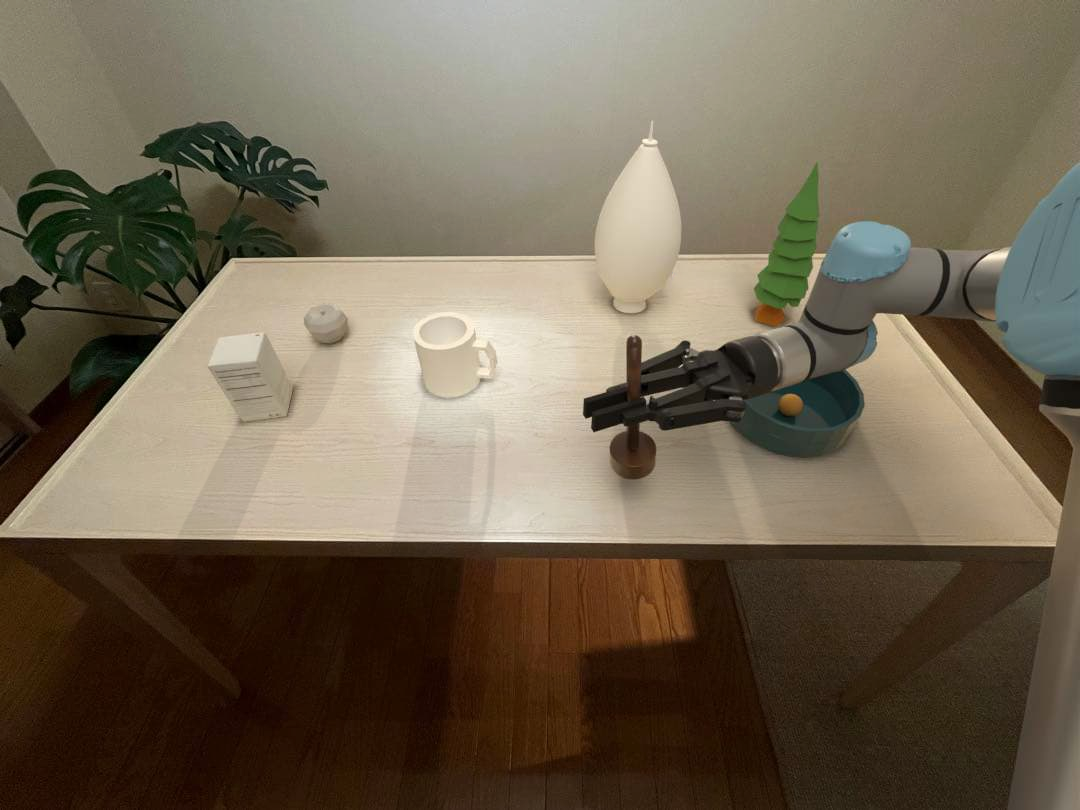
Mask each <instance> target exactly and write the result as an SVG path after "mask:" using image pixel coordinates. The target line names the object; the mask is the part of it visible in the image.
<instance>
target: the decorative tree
mask: <svg viewBox="0 0 1080 810" xmlns="http://www.w3.org/2000/svg"><path fill="white" fill-rule="evenodd" d="M819 177H820V176H819V165H818V161H816V162H815V164H814V166H813V168H812V170H811V172H810V174H809V176H808V177H807V178H806V180H805V182H804V184H803V185H802V187H801V188H800V190H799V192H798V193H797V194H796V196H795V197H793V199H792V200H791V201H790V203H789V204H788V205H787V206H786V207H785V209H784V210H785V211H786V213H785V214H784V216H783V217H782V219H781V221H780V222H779V224H778V226H777V230H778V235H777V236H776V238H775V240H774V241H773V242H772V246H773V249H772V250H771V252H770V253H769V254H768V261H767V263H768V264H767V265H766V266H765V267H764V268H763V269H761V270H760V271H759V273H757V274H756V276H757V278H758V282H757V283H756V285H754V287H753V291H754V294H755V298H756V300H757V301H758V302H761V304H760V305H759V306H758V307H757V308H756V309H755V310H754V322H757V323H761V324H765V325H769V326H773V327H777V326H780V325H781V324H783V323H784V322H785V321H786V320H787V316H786V315H785V313H784V311H783V309H786V307H787V306H788V305H789V306H790V307H791V308H798V307H799V306H800V303H801V302H802V299H805V298H806V295H807V292H808V290H809V281H808V280H809V279H808V278H809V277H810V274H811V273H812V271H813V268H814V263H813V257H814V255H815V252H816V250H817V247H818V244H817V233H818V229H819V223H818V219H819V218H820V207H819V197H818V195H819Z"/></svg>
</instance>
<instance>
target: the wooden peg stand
mask: <svg viewBox="0 0 1080 810" xmlns="http://www.w3.org/2000/svg"><path fill="white" fill-rule="evenodd" d="M625 342H626V345H625V346H626V347H625V348H626V349H625V352H626V355H625V356H626V357H625V359H626V361H625V363H626V364H625V365H626V369H625V370H626V373H625V375H626V382H625V383H626V402H627V401H630V400H634V399H638V398H640V396H641V363H642V355H643V353H642V352H643V340H642V338H641V337H640V336H639V335H637V334H632V335H630V336H628V338H626V341H625ZM640 427H641V423H638V424H635V425H632V426H626V430H624V431H621V432H619V433H617V434H616V435H615V436H614V437H613V438H612V440H611V441H610V444H609V463H610V467H611V469H612V471H613V472H614V473H615V474H616V475H618V476H619V477H621V478H622V479H626V480H631V481H633V480H634V481H637V480H641V479H644V478H646V477H648V476H649V475H650V474H651V473H652V472H653V471H654V469H655V467H656V460H657V445H656V442H655V440H654V439H653V437H652V436H650V434H648V433H646V432H644V431H641V430H640Z"/></svg>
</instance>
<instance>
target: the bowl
mask: <svg viewBox="0 0 1080 810" xmlns="http://www.w3.org/2000/svg"><path fill="white" fill-rule="evenodd" d="M786 394H795V395H797V396H799V397H800V398H801V400H802V402H803V408H802V410H801V412H800V413H799V414H797V415H795V416H786V415H784V414H782V413H781V412H780V410H779V408H778V402H779V400H780V398H781V397H783V396H784V395H786ZM743 401H745V402H746V403H747V407H746V409H745V412H744V415H743V417H742V420H741V421H740V422H730V424H731V425H732V426H733V428H734V429H735V430H736V431H737V432H738V433H739V434H740V435H742V436H743V437H744V438H745V439H747V440H748V441H750V443H752V444H754V445H756V446H758V447H760V448H761V449H764V450H767V451H768V452H772V453H775V454H777V455H782V456H785V457H791V458H804V459H805V458H817V457H821V456H824V455H828V454H830V453H833V452H834V451H836V450H837V449H839V448H840V447H841V446H843V444H844V442H845V441H846V440H848V437H849V436H850V435H851V432H852V431H853V430H854V428H855V426H856V424H857V423H858V421H859V420H860V418H861V416H862V413H863V411H864V409H865V405H866V403H865V395H864V392H863V390H862V388H861V386H860V384H859V381H858V380H856V378H855V377H854V376H853V375H852V374H851V373H850V372H849V371H848V370H847V369H845V370H843V371H839V372H833V373H829V374H826V375H822V376H819V377H815V378H812V379H808V380H806V381H803V382H800V383H797V384H794V385H791V386H788V387H785V388H781V389H778V390H775V391H770V392H769V393H767V394H763V395H760V396H757V397H754V398H751V399H748V400H743Z"/></svg>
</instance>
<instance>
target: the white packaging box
mask: <svg viewBox="0 0 1080 810" xmlns="http://www.w3.org/2000/svg"><path fill="white" fill-rule="evenodd" d="M206 367H207V369H208V370H209V372H210V374H211V375H212V376H213V378H214V379H215V381H216V382H217V384H218V386H219V387H220V389H221V390H222V392H223V394H224V395H225V397H226V398H227V400H228V402H229V403H230V404H231V407H232V408H233V409H234V410H235V413H236V414H237V415H238V417H239V418H240V420H241V422H243V423H244V422H254V421H261V420H269V419H276V418H284V417H287V416H288V413H289V412H288V411H289V408H290V403H291V398H292V394H293V389H294V386H293V385H292V382H291V381H290V378H289V377H288V374H287V372H286V371H285V369H284V366H283V365H282V363H281V361H280V359H279V357H278V355H277V353H276V351H275V349H274V347H273V345H272V343H271V341H270V339H269V337H268V335H267V333H266V332H265V331H263V332H252V333H244V334H236V335H229V336H228V335H227V336H221V337H218V338H217V341H216V344H215V346H214V349H213V351H212V354H211V355H210V358H209V361H208V363H207V365H206Z"/></svg>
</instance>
